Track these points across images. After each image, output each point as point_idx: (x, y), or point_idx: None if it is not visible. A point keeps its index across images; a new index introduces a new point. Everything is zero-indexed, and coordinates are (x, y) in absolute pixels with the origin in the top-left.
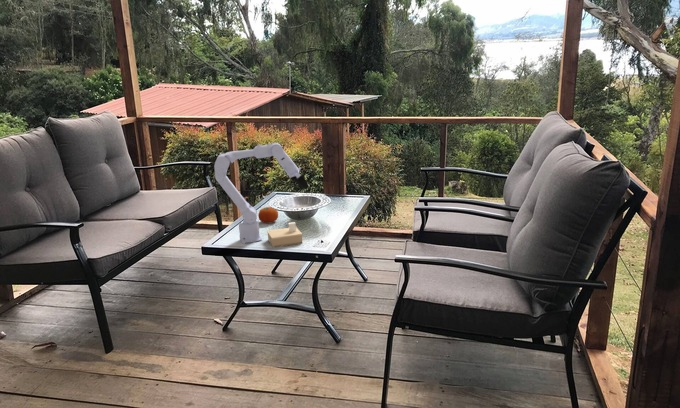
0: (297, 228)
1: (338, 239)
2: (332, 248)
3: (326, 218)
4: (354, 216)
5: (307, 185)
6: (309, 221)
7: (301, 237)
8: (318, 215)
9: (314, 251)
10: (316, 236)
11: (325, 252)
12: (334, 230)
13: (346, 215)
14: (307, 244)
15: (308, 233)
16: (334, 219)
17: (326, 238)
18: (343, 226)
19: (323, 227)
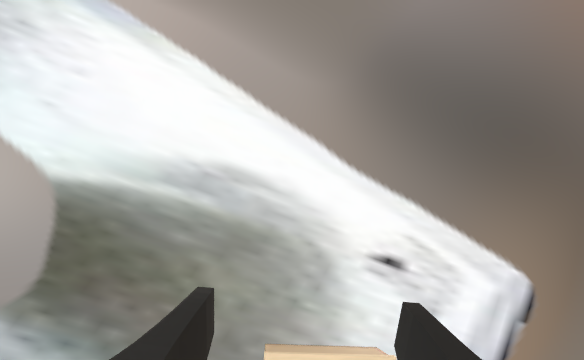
0: (300, 355)
1: (392, 195)
2: (480, 253)
3: (90, 129)
4: (143, 27)
5: (434, 323)
6: (81, 213)
7: None
8: (13, 141)
9: (490, 330)
10: (317, 260)
11: (512, 293)
12: (278, 166)
13: (106, 44)
14: None
15: (259, 279)
16: (129, 107)
17: (361, 232)
18: (247, 116)
19: (213, 190)
